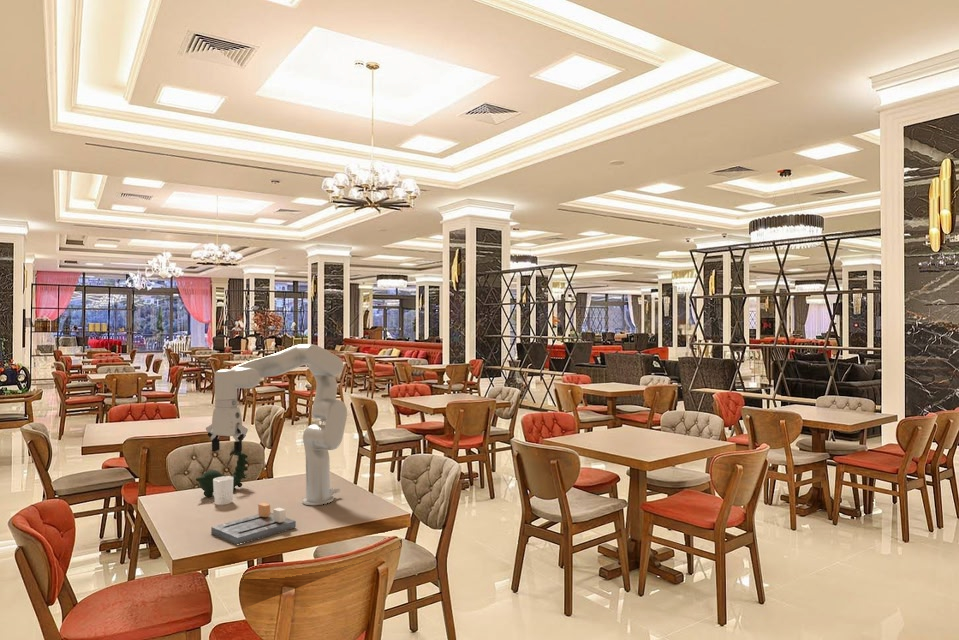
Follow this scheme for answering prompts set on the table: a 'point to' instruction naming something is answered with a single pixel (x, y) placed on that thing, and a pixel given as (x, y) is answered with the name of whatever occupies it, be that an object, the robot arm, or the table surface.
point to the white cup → (223, 490)
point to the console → (251, 528)
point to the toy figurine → (209, 475)
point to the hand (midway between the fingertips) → (226, 451)
